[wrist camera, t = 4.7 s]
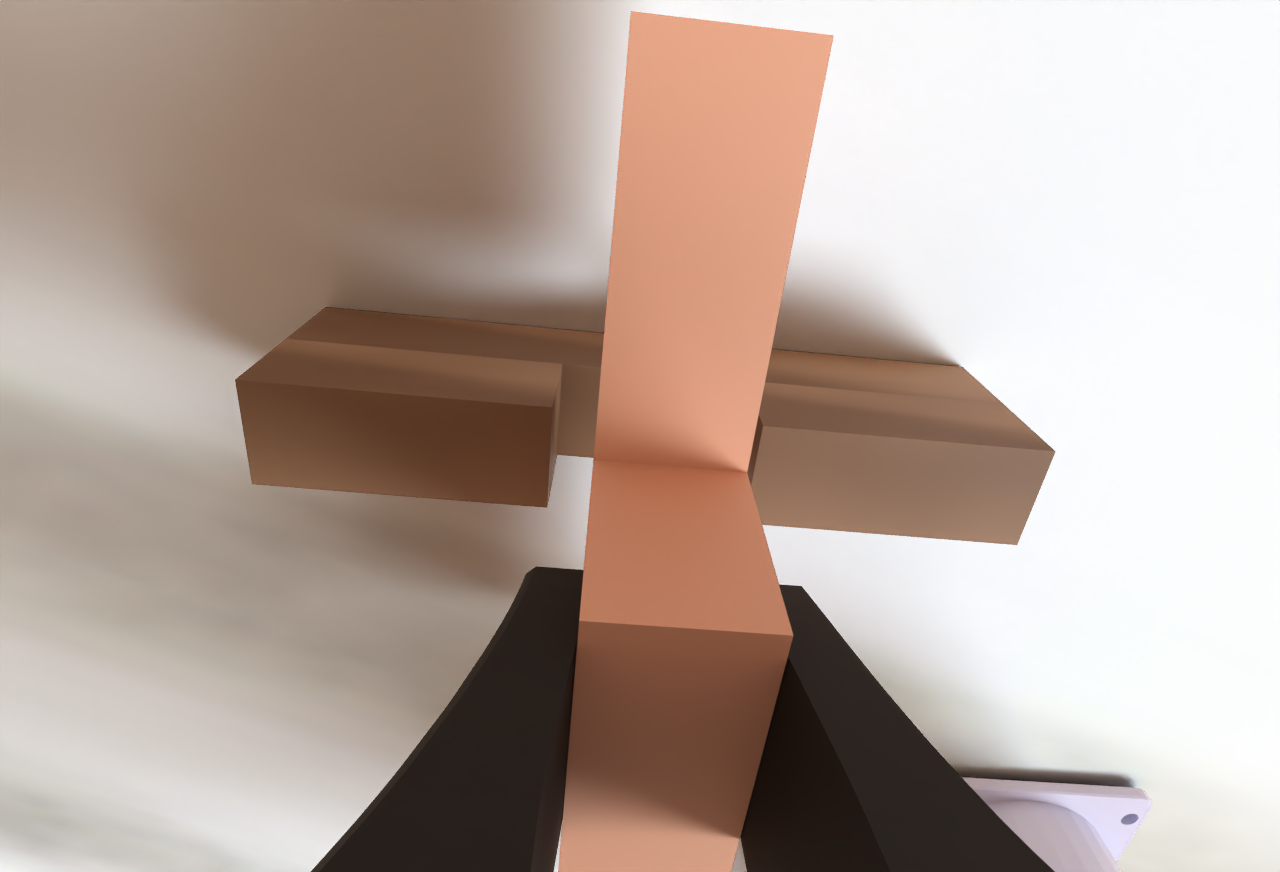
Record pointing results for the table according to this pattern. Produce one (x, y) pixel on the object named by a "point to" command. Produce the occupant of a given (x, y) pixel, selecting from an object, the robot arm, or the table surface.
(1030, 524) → the table surface
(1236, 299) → the table surface
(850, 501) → the walnut notched bar
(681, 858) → the salmon stepped block
